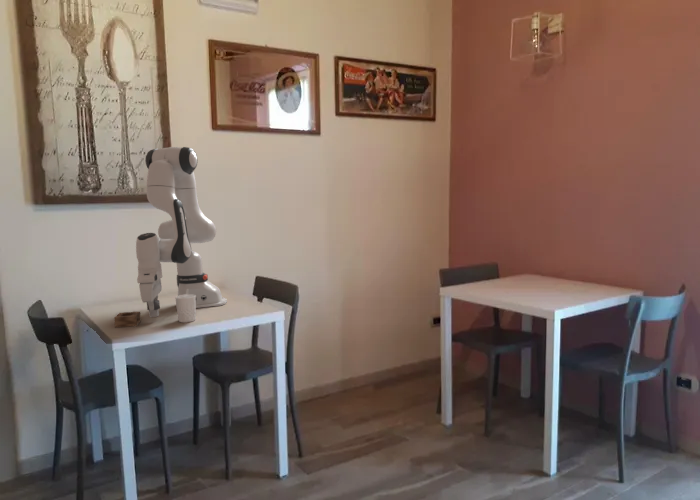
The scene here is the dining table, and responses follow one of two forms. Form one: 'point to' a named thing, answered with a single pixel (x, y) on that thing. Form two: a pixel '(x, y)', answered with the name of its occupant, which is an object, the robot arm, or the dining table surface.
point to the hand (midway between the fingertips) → (153, 307)
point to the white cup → (186, 307)
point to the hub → (127, 319)
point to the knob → (153, 312)
